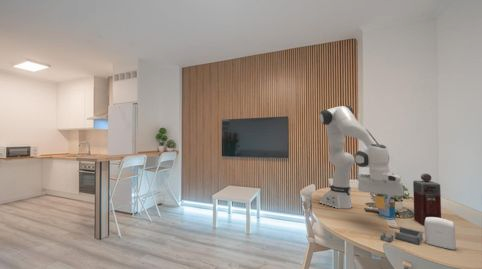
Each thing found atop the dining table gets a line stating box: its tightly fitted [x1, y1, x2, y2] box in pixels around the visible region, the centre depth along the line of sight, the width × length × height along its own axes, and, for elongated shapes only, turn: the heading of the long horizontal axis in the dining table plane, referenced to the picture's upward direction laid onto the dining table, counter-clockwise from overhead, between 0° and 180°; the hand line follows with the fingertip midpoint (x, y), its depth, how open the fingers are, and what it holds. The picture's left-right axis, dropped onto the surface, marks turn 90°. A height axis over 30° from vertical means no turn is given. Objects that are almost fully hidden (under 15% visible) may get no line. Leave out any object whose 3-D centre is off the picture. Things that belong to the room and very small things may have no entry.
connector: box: [374, 193, 386, 209], centre depth 114 cm, size 4×4×7 cm
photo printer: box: [424, 217, 457, 251], centre depth 99 cm, size 10×4×12 cm, turn 47°
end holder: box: [394, 226, 424, 246], centre depth 106 cm, size 9×10×3 cm
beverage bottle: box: [378, 194, 396, 220], centre depth 135 cm, size 8×8×20 cm
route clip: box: [380, 232, 394, 244], centre depth 105 cm, size 4×5×2 cm
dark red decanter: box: [412, 173, 442, 227], centre depth 124 cm, size 9×11×28 cm
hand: (380, 202), depth 114 cm, fingers closed on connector, 4 cm apart
